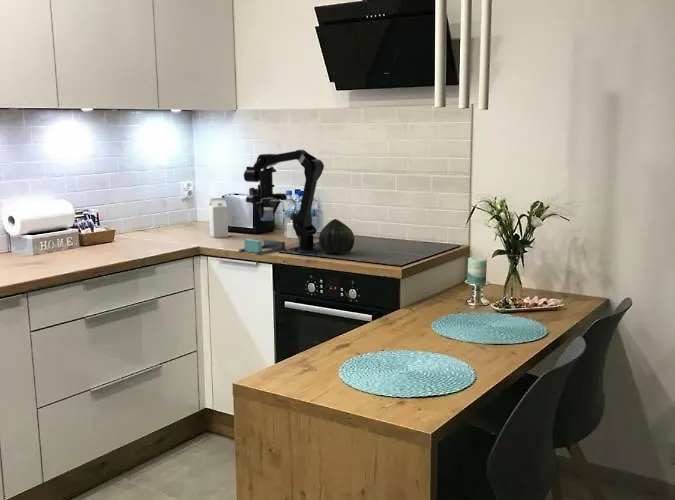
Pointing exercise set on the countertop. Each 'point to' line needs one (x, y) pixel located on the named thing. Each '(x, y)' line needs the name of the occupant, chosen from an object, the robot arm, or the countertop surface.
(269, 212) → the jar
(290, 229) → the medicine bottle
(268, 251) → the gray u-shaped archway
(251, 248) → the teal foam pad
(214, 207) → the milk carton
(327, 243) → the squash
